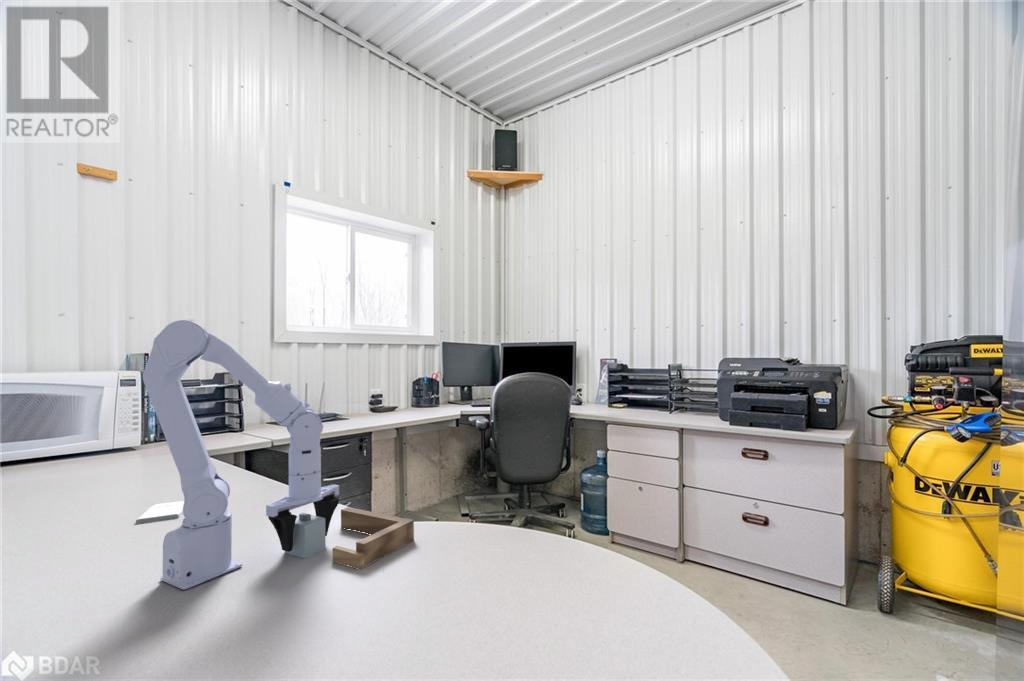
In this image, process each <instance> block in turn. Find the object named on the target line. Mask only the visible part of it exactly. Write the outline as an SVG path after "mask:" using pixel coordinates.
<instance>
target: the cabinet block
mask: <svg viewBox="0 0 1024 681" xmlns="http://www.w3.org/2000/svg"><path fill="white" fill-rule="evenodd" d="M296 516H297V518H296V521H295V525H294V531H293V549H292V551H290V552H287V551H284V553H286V554H289V555H292V556H296V557H300V558H303V559H307V558H309V557H312V556H313V555H316V554H318V553H321V552H322V551H324V550H326V536H325V518H323V517H318V516H316V515H314V514H313V515H312V514H309V513H305V512H301V513H299V514H298V515H296Z"/></svg>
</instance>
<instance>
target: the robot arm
mask: <svg viewBox="0 0 1024 681" xmlns="http://www.w3.org/2000/svg"><path fill="white" fill-rule="evenodd" d="M152 342H153V343H152V348H151V351H150V353H149V357H148V359H147V361H146V364H145V367H144V369H143V373H142V381H143V384H144V386H145V389H146V391H147V394H148V396H149V399H150V402H151V404H152V407H153V409H154V412H155V415H156V417H157V420H158V422H159V424H160V427H161V429H162V432H163V435H164V438H165V440H166V443H167V445H168V447H169V451H170V453H171V456H172V459H173V461H174V464H175V466H176V469H177V471H178V473H179V477H180V487H181V491H182V493H183V496H184V498H183V499H184V500H183V501H184V505H183V513H182V515H183V517H184V518H183V519H182V522H181V523H182V524H181V525H180V526H179V527H177V528H175V529H173V530H171V531H169V532H167V533H166V534H165V536H164V538H163V542H162V576H160V581H163V582H165V583H167V584H169V585H171V586H174V587H176V588H178V589H181V590H182V591H183V590H187V589H191V588H192V587H196V586H198V585H201V584H202V583H205V582H207V581H209V580H212V579H214V578H216V577H217V578H218V577H219V576H222V575H224V574H226V573H229V572H232V571H234V570H236V569H238V568H241V567H243V563H242V562H240V561H237V560H234V559H232V544H233V542H232V540H233V539H232V537H233V536H232V533H233V532H232V524H233V523H232V521H233V520H232V516H233V515H232V511H230V510H229V509H228V506H229V501H228V500H229V496H230V494H231V491H230V490H231V488H230V485H229V483H228V482H227V481H226V480H225V479H224V478H222V476H220V475H219V473H218V472H217V469H216V466H215V465H214V463H213V462H212V460H211V458H210V455H209V451H208V449H207V447H206V444H205V442H204V439H203V436H202V434H201V431H200V429H199V426H198V423H197V421H196V418H195V415H194V412H193V409H192V407H191V404H190V402H189V399H188V397H187V394H186V392H185V389H184V387H183V384H182V381H181V378H183V376H184V374H185V373H186V372H187V370H188V369H189V368H190V366H191V364H192V363H193V362H195V361H196V360H198V359H199V358H200V360H203V361H205V362H210V363H214V364H218V365H220V366H221V367H223V368H224V369H225V370H226V371H227V372H229V373H230V374H231V375H232V376H233V377H234V378H236V379H237V380H238V381H239V382H241V383H242V384H243V385H244V386H246V388H248V389H249V390H251V391H252V392H253V393H254V405H256V406H257V407H258V408H260V410H262V411H263V412H265V414H267V416H269V417H270V418H271V419H272V420H274V421H275V422H276V423H277V424H278V425H279V426H284V427H286V430H287V432H288V433H289V435H290V436H289V448H288V495H287V496H284V497H282V498H281V499H278V500H277V501H274V502H271V503H269V504H266V505H265V511H266V513H265V514H266V516H267V518H268V520H269V521H270V523H271V525H273V528H274V530H275V531H276V534H277V537H278V539H279V542H280V547H281V550H282V551H283V552H285V551H287V552H290V551H292V549H293V531H294V525H295V521H296V518H297V516H298V515H296V514H292V511H291V510H294V509H297V508H301V507H304V506H307V505H309V504H313V506H314V512H315V516H318V517H323V518H325V537H327V536H328V533H329V528H330V524H331V520H332V517H333V515H334V512H335V511H336V508H337V507H338V505H339V504H340V503H339V502H340V501H339V500H340V498H339V497H336V496H339V495H340V485H338V484H330V485H325V486H322V460H321V459H322V453H321V452H322V448H321V444H320V443H321V434H322V432H323V429H324V424H323V422H322V418H321V417H320V416H319V414H317V413H315V411H314V410H313V409H311V408H309V407H310V404H309V403H308V402H307V401H305V402H303V400H301V399H300V398H299V397H297V395H295V394H294V393H293V392H292V391H291V389H292V387H291V386H290V385H289V384H288V383H285V384H283V382H281V381H269V380H267V379H266V378H265V377H264V376H263V375H262V374H261V373H260V372H259V371H258V370H257V369H255V368H254V367H253V366H252V365H251V364H250V363H249V362H248V361H247V360H246V359H244V357H243V356H242V355H241V354H239V353H238V352H237V351H236V350H235V349H234V348H233V347H232V346H230V345H229V344H228V343H227V342H225V341H223V340H222V339H220V338H219V337H217V336H216V335H214V334H212V333H211V332H209V331H207V330H206V329H205V328H204V327H202V326H201V325H200V324H199V323H198V322H195V321H192V320H187V319H180V320H175V321H172V322H170V323H169V324H167V325H166V326H165V327H164V328H163V329H162V330H161V331H160V332H159V333H158V334H157V335H156V336H155V338H154V339H153V341H152Z"/></svg>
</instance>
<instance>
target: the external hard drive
mask: <svg viewBox="0 0 1024 681" xmlns="http://www.w3.org/2000/svg"><path fill="white" fill-rule="evenodd" d="M183 505H184V500H181V501H173V502H172V501H171V502H170V501H169V502H163V503H157V504H156V503H155V504H153V505H152V506H150V507H149V508H148V509H147V510H145V512H144V513H142V514H141V515H140V516H139V517H138V518H137V519H136V520H135V524H136V525H137V524H144V523H145V524H146V523H153V522H158V521H166V520H167V521H168V520H173V519H174V520H175V519H179V518H181V516H182V515H183Z"/></svg>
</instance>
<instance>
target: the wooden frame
mask: <svg viewBox="0 0 1024 681" xmlns="http://www.w3.org/2000/svg"><path fill="white" fill-rule="evenodd" d="M414 521H415V520H414V519H410V518H405V517H399V516H396V515H395V516H394V515H389V514H385V513H380V512H373V511H370V510H365V509H360V508H355V507H349V506H348V507H345V508H343V509H340V529H341V528H345V529H344V530H346V529H351V530H356V531H360V532H365V533H368V534H371V535H367V536H366V537H363V538H362V539H360V540H357V541H356V542H355V550H354V549H351V548H347V547H343V546H340V545H336V546H333V547H332V548H331V549H332V551H331V552H332V554H331V555H332V562H333V563H335V562H336V563H335V564H339V563H341V564H340V565H342V564H345V565H344V566H346V565H349V566H352V567H355V568H354V569H356V568H358V569H357V570H359V569H360V570H362V569H364V568H365V566H366V565H367V566H369V565H371V564H372V562H373V561H375V560H377V559H378V560H380V559H382V558H384V557H385V556H384V555H386V554H388V553H389V554H391V553H393V552H395V551H397V550H399V549H401V548H402V547H404V546H406V545H408V544H410V543H412V542H414V541H415V529H414V528H415V526H414V525H415V524H414V523H415V522H414ZM411 541H412V542H411ZM409 542H410V543H409ZM407 543H408V544H407ZM405 544H406V545H405ZM403 545H404V546H403ZM401 546H402V547H401ZM400 547H401V548H400ZM398 548H399V549H398ZM396 549H397V550H396ZM394 550H395V551H394ZM392 551H393V552H392ZM390 552H391V553H390ZM389 554H388V555H389ZM383 556H384V557H383ZM386 556H387V555H386ZM381 557H382V558H381ZM379 558H380V559H379ZM378 560H377V561H378ZM375 562H376V561H375ZM370 563H371V564H370ZM373 563H374V562H373ZM368 564H369V565H368ZM349 566H348V567H349ZM367 566H366V567H367ZM352 567H351V568H352ZM363 567H364V568H363ZM361 568H362V569H361Z"/></svg>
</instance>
